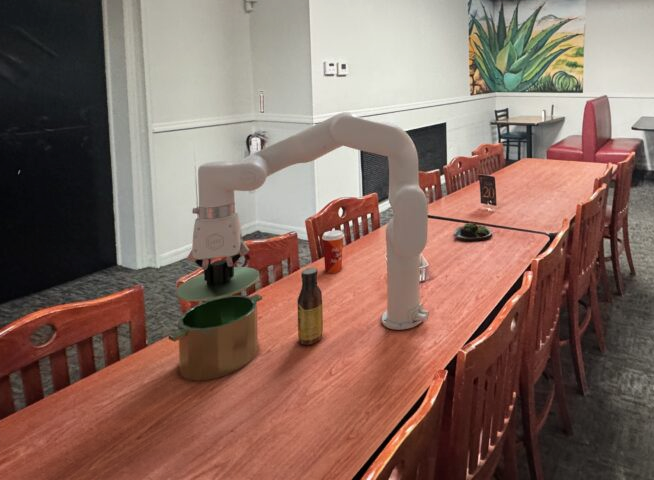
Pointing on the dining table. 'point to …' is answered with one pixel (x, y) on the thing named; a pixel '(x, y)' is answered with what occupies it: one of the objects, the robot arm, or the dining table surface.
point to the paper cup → (333, 250)
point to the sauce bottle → (310, 308)
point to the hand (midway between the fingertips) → (219, 280)
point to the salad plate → (472, 232)
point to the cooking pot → (217, 337)
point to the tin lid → (217, 283)
